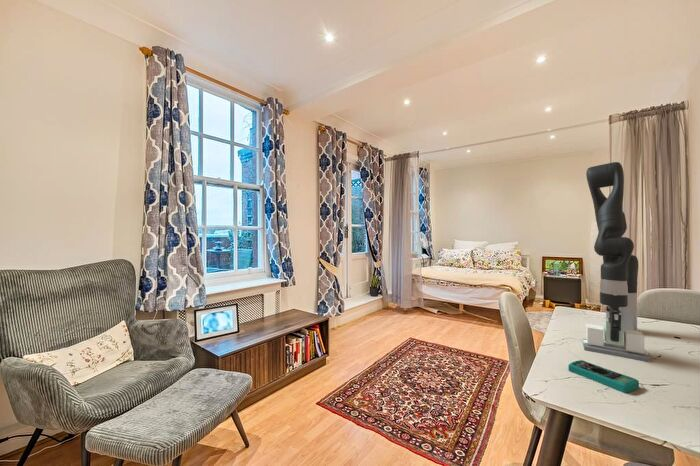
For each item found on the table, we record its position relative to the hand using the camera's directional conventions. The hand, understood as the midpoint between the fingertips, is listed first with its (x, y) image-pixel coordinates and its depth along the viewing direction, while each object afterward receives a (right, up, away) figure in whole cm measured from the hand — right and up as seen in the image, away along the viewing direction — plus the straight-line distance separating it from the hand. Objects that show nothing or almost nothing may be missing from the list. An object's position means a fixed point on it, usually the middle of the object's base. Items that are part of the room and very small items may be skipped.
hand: (613, 338), depth 105 cm
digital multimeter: (-22, -5, -20) cm, 30 cm away
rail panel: (0, -5, 0) cm, 5 cm away
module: (0, -1, 0) cm, 1 cm away
